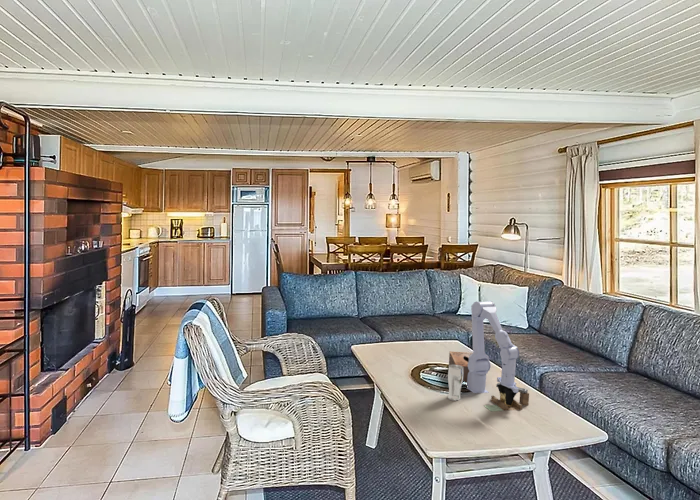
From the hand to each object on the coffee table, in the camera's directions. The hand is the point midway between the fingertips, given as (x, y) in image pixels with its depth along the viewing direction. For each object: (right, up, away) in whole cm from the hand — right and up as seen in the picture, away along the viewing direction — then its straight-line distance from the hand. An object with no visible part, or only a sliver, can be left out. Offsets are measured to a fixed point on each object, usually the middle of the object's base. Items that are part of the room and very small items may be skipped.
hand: (506, 402), depth 217 cm
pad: (-7, -1, -5) cm, 9 cm away
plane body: (+3, -1, +1) cm, 3 cm away
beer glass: (-22, 0, +6) cm, 23 cm away
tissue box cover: (-9, +1, +38) cm, 39 cm away
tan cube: (0, -1, 0) cm, 1 cm away
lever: (+4, +5, +5) cm, 8 cm away
